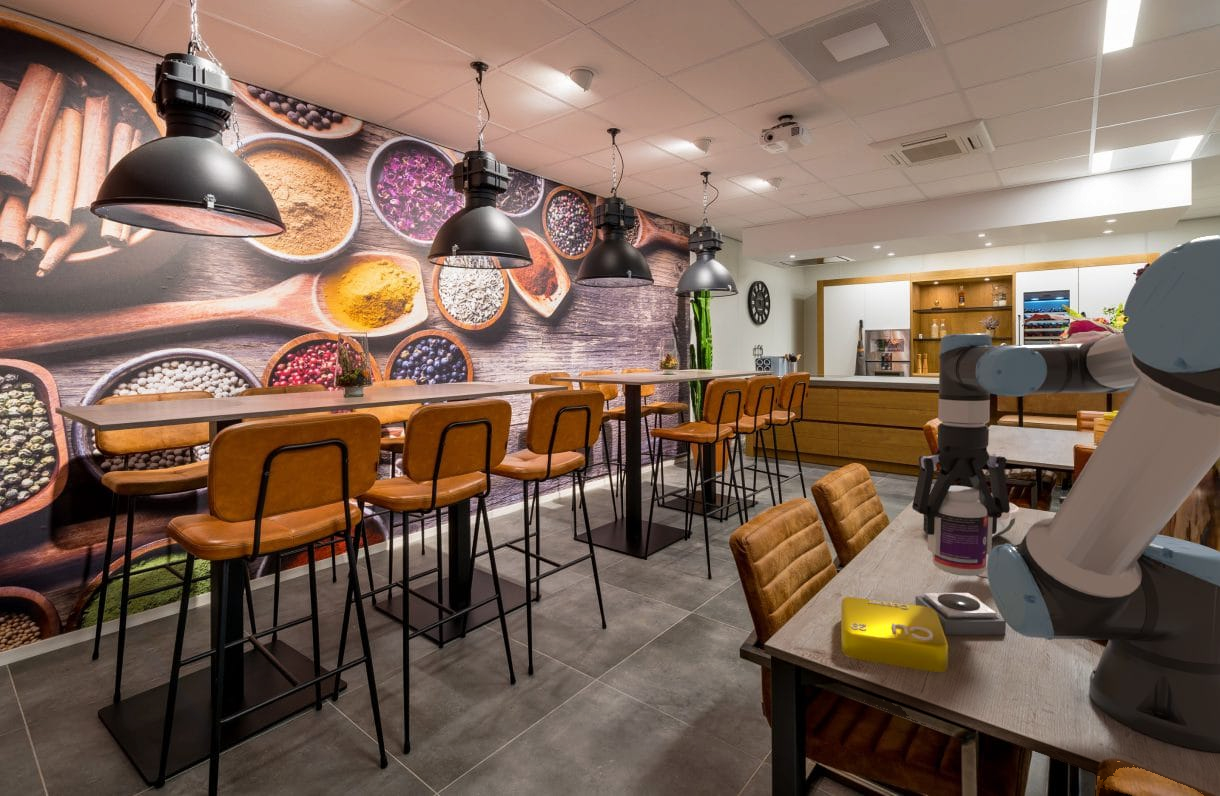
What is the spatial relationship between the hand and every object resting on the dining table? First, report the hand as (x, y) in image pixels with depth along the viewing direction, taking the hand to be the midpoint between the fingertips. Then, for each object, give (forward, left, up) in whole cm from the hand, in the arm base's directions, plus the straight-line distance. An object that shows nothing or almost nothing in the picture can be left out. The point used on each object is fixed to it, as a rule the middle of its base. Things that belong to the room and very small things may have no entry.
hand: (958, 551), depth 101 cm
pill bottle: (0, 0, -3) cm, 3 cm away
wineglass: (+22, -18, -13) cm, 31 cm away
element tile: (-7, +15, -13) cm, 21 cm away
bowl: (+47, -30, -13) cm, 57 cm away
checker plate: (0, 0, -11) cm, 11 cm away
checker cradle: (0, 0, -13) cm, 13 cm away
